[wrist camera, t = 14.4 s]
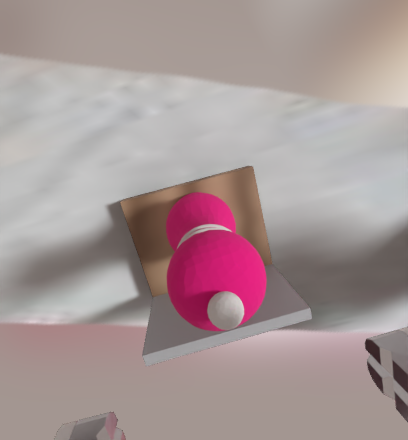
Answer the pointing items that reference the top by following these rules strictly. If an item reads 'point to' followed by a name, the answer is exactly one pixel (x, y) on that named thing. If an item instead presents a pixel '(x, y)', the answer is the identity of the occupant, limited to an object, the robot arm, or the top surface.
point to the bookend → (162, 251)
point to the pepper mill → (212, 265)
